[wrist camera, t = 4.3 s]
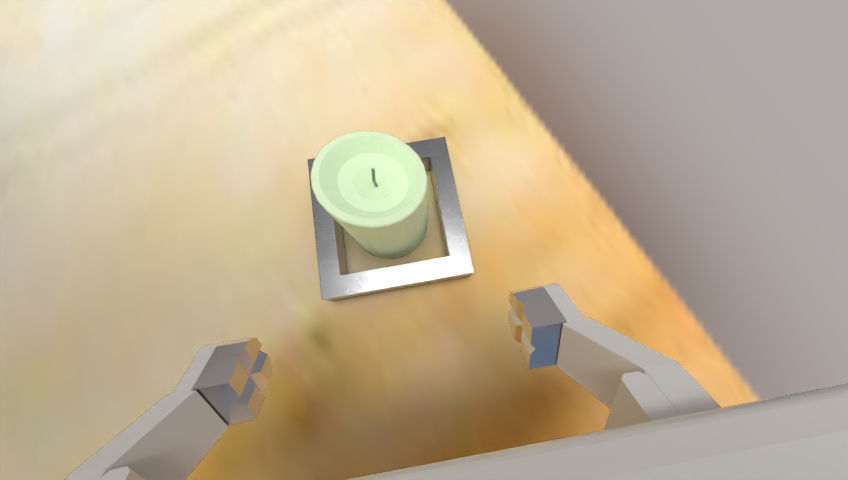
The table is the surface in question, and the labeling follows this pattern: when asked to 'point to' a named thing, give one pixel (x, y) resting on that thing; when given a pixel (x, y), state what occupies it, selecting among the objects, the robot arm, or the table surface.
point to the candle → (374, 191)
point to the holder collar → (406, 275)
